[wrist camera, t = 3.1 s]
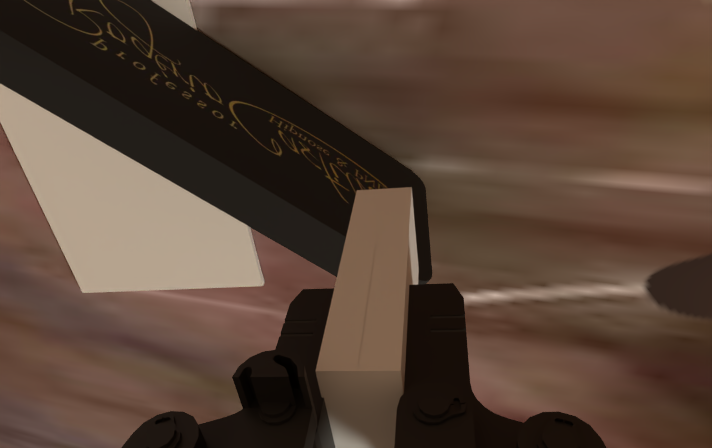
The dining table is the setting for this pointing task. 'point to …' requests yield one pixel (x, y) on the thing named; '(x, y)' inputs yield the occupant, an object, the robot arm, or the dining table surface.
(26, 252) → the dining table surface
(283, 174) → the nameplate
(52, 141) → the beige mat
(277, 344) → the robot arm
